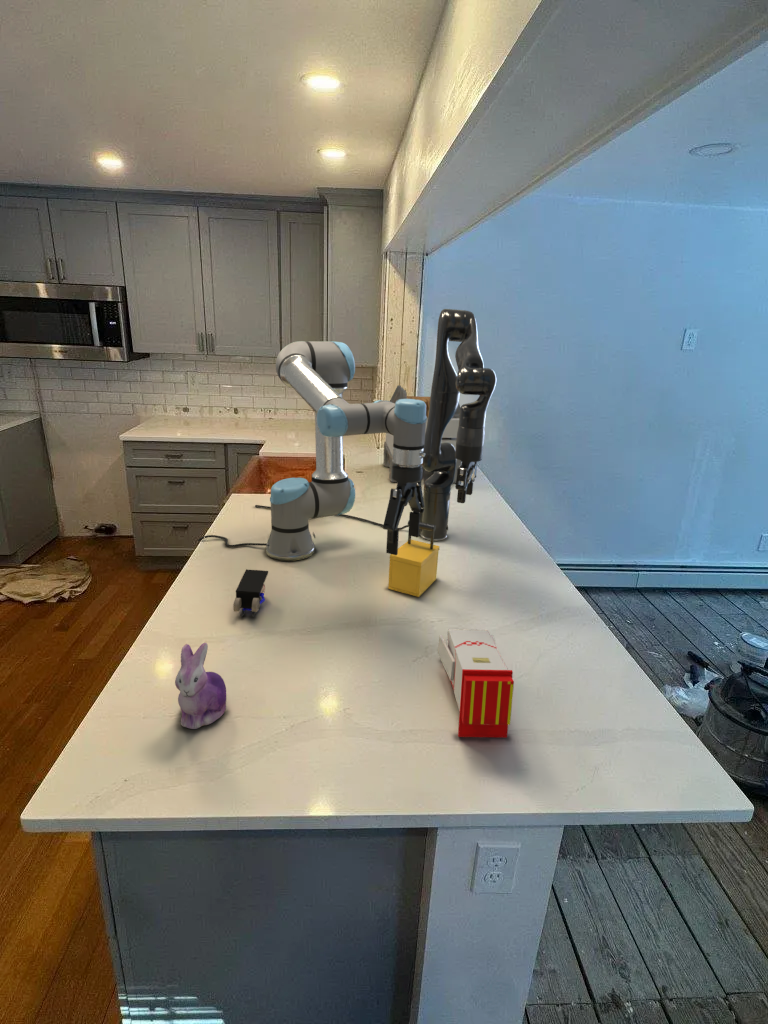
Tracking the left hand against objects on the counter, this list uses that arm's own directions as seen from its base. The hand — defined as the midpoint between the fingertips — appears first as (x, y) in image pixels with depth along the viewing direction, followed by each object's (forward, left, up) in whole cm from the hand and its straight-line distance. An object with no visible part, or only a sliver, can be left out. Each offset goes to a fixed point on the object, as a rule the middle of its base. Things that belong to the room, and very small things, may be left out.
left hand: (403, 544), depth 145 cm
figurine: (-14, -57, -18) cm, 62 cm away
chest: (-2, +14, -18) cm, 23 cm away
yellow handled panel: (-2, +14, -9) cm, 17 cm away
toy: (+28, -25, -18) cm, 42 cm away
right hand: (+7, +25, +7) cm, 27 cm away
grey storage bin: (-48, +123, -18) cm, 133 cm away
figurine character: (-33, -20, -18) cm, 43 cm away
